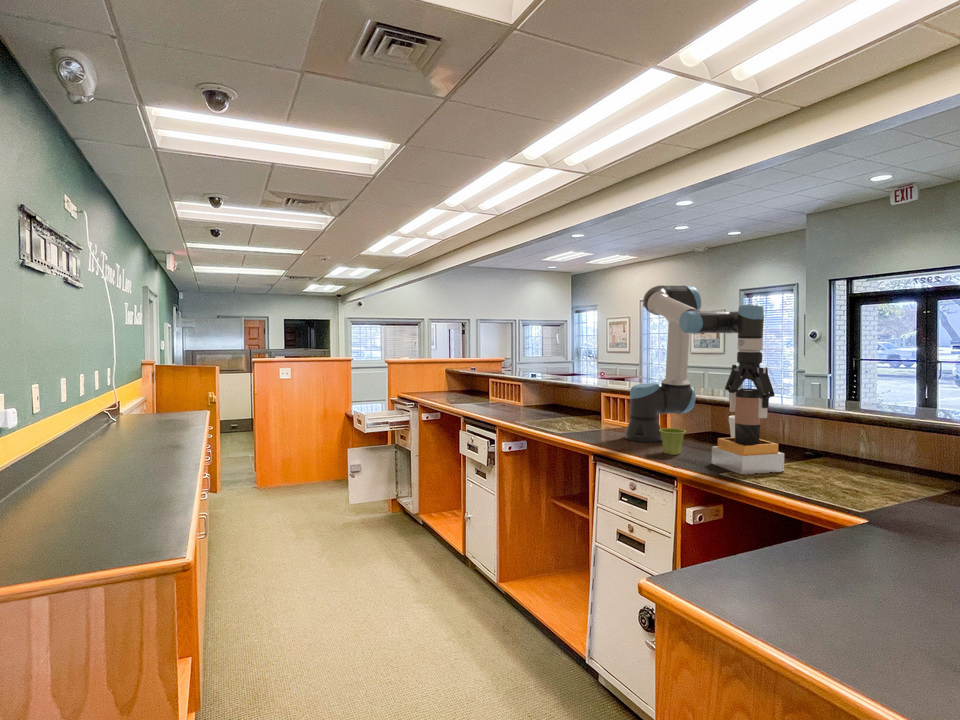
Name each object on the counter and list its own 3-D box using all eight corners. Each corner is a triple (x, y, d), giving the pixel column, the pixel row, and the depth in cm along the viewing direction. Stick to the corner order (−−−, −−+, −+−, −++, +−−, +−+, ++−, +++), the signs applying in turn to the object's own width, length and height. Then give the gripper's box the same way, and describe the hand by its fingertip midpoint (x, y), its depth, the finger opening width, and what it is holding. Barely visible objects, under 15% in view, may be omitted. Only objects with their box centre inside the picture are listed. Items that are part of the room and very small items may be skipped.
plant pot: (689, 456, 201) (689, 432, 200) (663, 456, 201) (663, 432, 200) (680, 450, 210) (680, 428, 210) (655, 450, 210) (656, 428, 210)
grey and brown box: (711, 463, 189) (712, 437, 189) (762, 460, 194) (763, 435, 194) (741, 474, 175) (742, 446, 174) (796, 470, 180) (797, 443, 179)
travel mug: (762, 451, 179) (764, 390, 178) (737, 450, 181) (738, 390, 180) (755, 447, 187) (757, 388, 186) (731, 446, 188) (733, 388, 187)
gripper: (715, 349, 193) (713, 409, 194) (768, 353, 169) (766, 421, 170) (733, 349, 195) (731, 408, 196) (788, 352, 171) (786, 420, 172)
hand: (747, 414), depth 183 cm, fingers open, 13 cm apart
